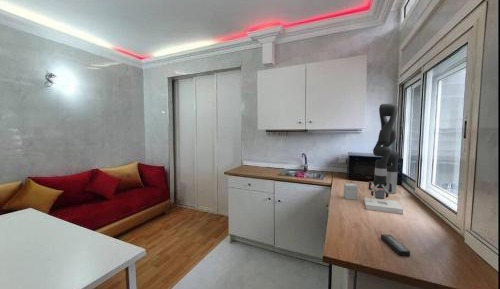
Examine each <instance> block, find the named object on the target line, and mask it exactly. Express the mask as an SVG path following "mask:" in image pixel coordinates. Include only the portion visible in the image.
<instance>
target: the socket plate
mask: <svg viewBox="0 0 500 289" xmlns="http://www.w3.org/2000/svg"><path fill="white" fill-rule="evenodd" d="M363 203H364V206H365V209H366V210H369V211H378V212H383V213H392V214H398V215H399V214H400V215H403V214H404V209H403V207H402V206H401V204H400V203H399V201H398V200H391V199H390V200H389V199H376V198H375V197H374V198H372V197H364V198H363Z"/></svg>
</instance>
